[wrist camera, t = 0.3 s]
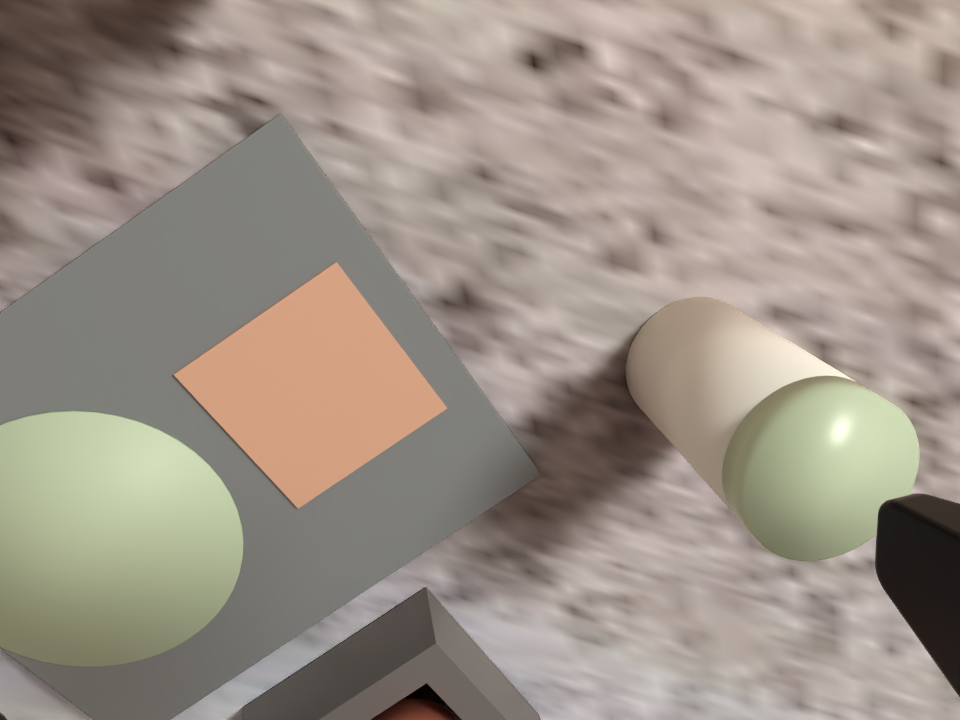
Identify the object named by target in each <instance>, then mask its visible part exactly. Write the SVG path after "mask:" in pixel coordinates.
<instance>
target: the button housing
mask: <svg viewBox="0 0 960 720" xmlns="http://www.w3.org/2000/svg"><path fill="white" fill-rule="evenodd" d="M426 683H427V684H428V685H429V686H430V687H431V688H432V689H433V690H434V691H435V692H436V693H437V694H438V695H439V696H440V698H441V699H442V700H443V701H444V702H445V703H446V704H447V705H448V706H449V707H450V708H451V709H452V710H453V711H454V712H455V713H456V714H457V715H458V716H459V717H460V718H461V719H462V720H541V719H540V716H539V714H538V713H537V712H536V711H535V710H534V708H533V707H532V706H531V705H530V704H529V703H528V702H527V701H526V699H525V698H524V697H523V696H522V695H521V694H520V693H519V691H518V690H517V689H516V688H515V687H514V686H513V685H512V684H511V682H510V681H509V680H508V679H507V678H506V677H505V676H504V675H503V673H502V672H501V671H500V670H499V669H498V668H497V667H496V666H495V664H494V663H493V662H492V661H491V660H490V659H489V658H488V657H487V655H486V654H485V653H484V652H483V651H482V650H481V649H480V647H479V646H478V645H477V644H476V643H475V642H474V641H473V640H472V638H471V637H470V636H469V635H468V634H467V633H466V632H465V631H464V629H463V628H462V627H461V626H460V625H459V624H458V623H457V622H456V620H455V619H454V618H453V617H452V616H451V615H450V614H449V613H448V611H447V610H446V609H445V608H444V607H443V606H442V605H441V603H440V602H439V601H438V600H437V599H436V598H435V597H434V596H433V594H432V593H431V592H430V591H429V590H428V589H427V588H424V589H423V590H421V591H420V592H418V593H417V594H415V595H413V596H412V597H410V598H409V599H407V600H406V601H404V602H403V603H401V604H400V605H398V606H397V607H395V608H394V609H392V610H391V611H389V612H388V613H386V614H385V615H383V616H382V617H380V618H378V619H377V620H375V621H374V622H372V623H371V624H369V625H368V626H366V627H365V628H363V629H362V630H360V631H359V632H357V633H356V634H354V635H353V636H351V637H350V638H348V639H346V640H345V641H343V642H342V643H340V644H339V645H337V646H336V647H334V648H333V649H331V650H330V651H328V652H327V653H325V654H324V655H322V656H321V657H319V658H318V659H316V660H315V661H313V662H311V663H310V664H308V665H307V666H305V667H304V668H302V669H301V670H299V671H298V672H296V673H295V674H293V675H292V676H290V677H289V678H287V679H286V680H284V681H283V682H281V683H280V684H278V685H276V686H275V687H273V688H272V689H270V690H269V691H267V692H266V693H264V694H263V695H261V696H260V697H258V698H257V699H255V700H254V701H252V702H251V703H249V704H248V705H246V706H244V707H243V715H242V720H371V719H372V718H374V717H375V716H377V715H378V714H380V713H381V712H383V711H384V710H386V709H388V708H389V707H391V706H392V705H394V704H395V703H397V702H398V701H400V700H401V699H403V698H405V697H406V696H408V695H409V694H411V693H412V692H414V691H415V690H417V689H418V688H420V687H422V686H423V685H425V684H426Z"/></svg>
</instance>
